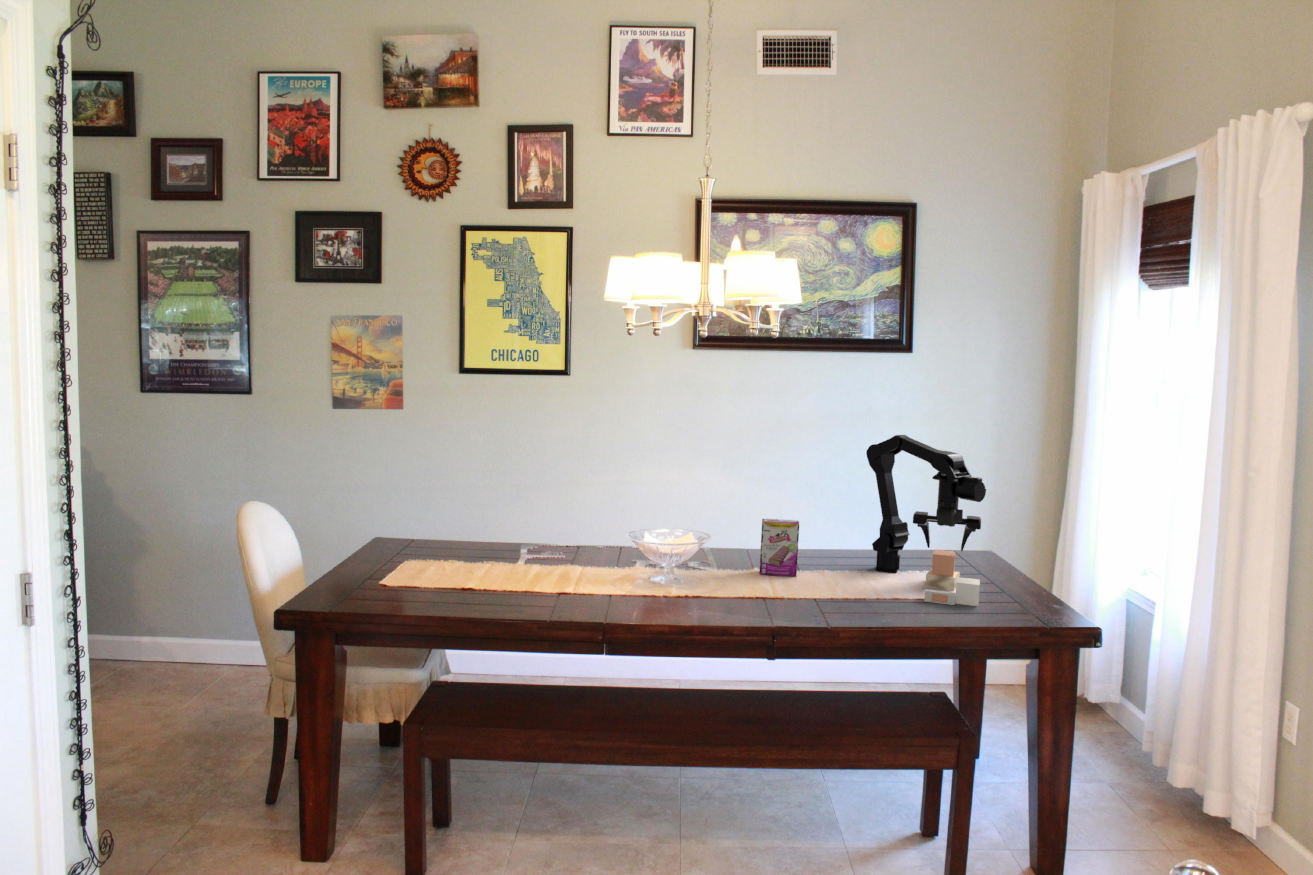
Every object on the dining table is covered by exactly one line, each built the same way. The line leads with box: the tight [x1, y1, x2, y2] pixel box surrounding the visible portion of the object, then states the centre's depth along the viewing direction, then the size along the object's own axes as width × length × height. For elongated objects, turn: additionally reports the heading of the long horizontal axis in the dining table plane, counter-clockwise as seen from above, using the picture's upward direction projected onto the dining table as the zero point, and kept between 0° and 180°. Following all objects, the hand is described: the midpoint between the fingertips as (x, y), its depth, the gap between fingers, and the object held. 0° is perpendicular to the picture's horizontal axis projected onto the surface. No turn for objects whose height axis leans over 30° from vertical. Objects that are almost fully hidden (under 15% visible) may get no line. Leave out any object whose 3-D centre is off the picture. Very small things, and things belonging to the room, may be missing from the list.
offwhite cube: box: [955, 577, 981, 607], centre depth 249 cm, size 6×6×6 cm
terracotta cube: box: [931, 549, 956, 577], centre depth 265 cm, size 6×6×6 cm
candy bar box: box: [759, 518, 800, 577], centre depth 272 cm, size 11×5×16 cm, turn 84°
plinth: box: [923, 588, 956, 606], centre depth 247 cm, size 8×2×3 cm, turn 70°
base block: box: [925, 568, 961, 591], centre depth 265 cm, size 8×8×4 cm
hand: (945, 549), depth 264 cm, fingers open, 9 cm apart
